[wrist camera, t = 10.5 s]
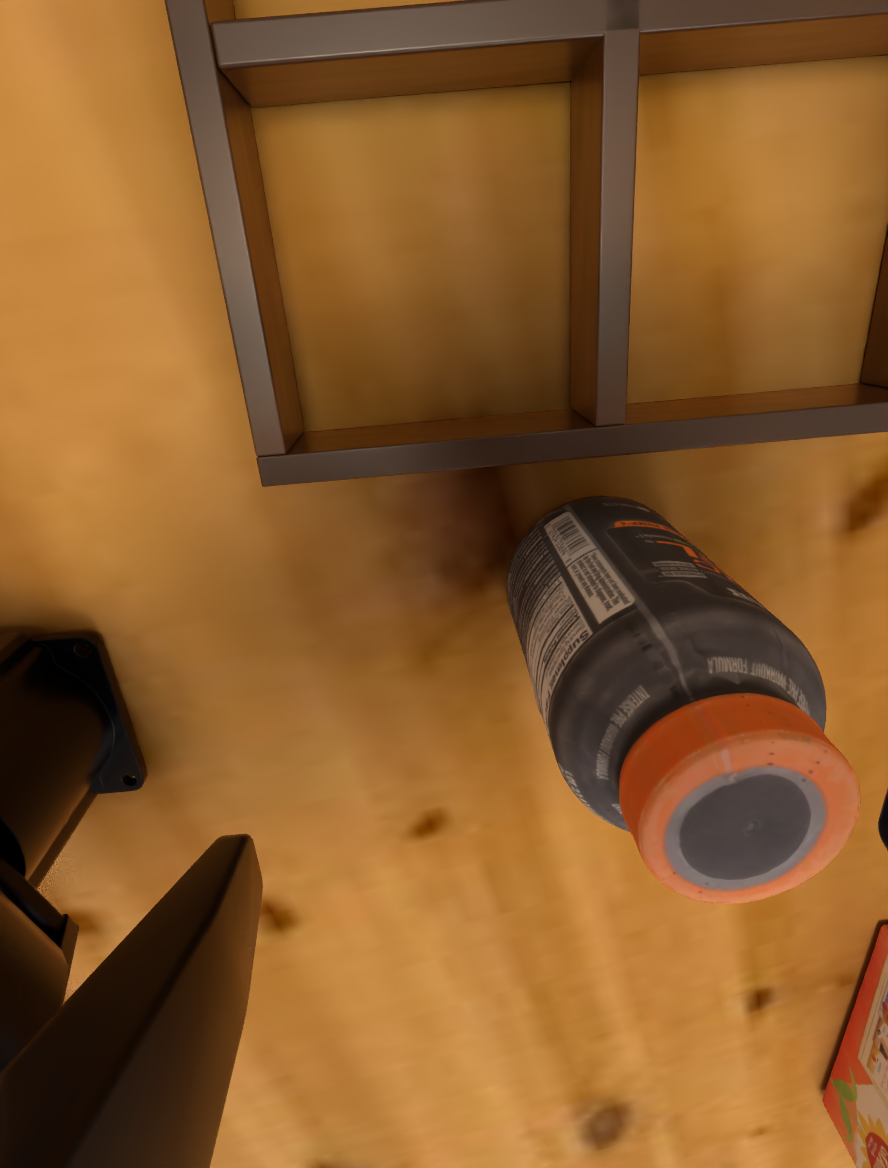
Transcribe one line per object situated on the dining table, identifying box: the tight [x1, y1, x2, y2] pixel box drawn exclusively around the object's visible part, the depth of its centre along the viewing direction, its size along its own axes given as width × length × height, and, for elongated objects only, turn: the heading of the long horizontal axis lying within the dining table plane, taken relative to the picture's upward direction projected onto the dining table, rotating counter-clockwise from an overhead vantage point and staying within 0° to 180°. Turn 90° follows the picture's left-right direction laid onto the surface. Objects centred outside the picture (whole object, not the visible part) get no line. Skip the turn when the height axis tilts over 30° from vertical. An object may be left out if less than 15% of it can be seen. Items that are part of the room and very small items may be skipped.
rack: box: [165, 0, 888, 487], centre depth 14 cm, size 18×18×3 cm
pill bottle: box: [507, 496, 860, 904], centre depth 16 cm, size 6×6×11 cm
